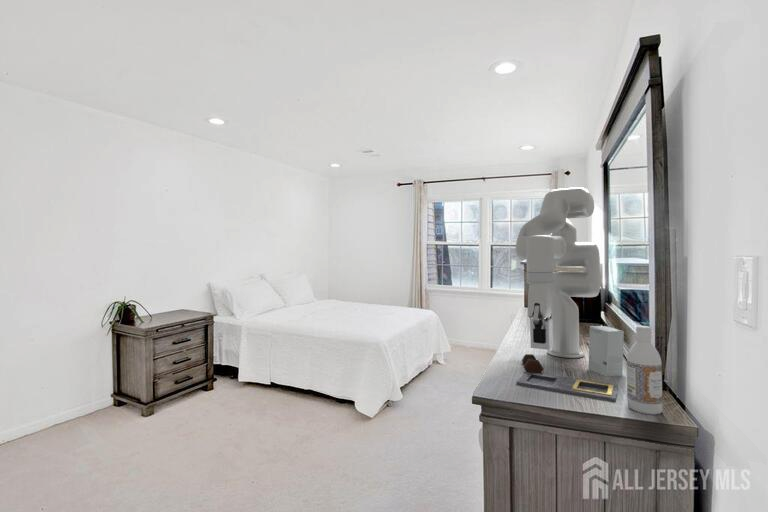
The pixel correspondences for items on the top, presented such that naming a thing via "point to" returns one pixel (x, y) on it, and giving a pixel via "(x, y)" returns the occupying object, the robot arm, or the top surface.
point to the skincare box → (606, 350)
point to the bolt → (532, 364)
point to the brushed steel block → (549, 335)
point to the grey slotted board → (569, 386)
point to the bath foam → (644, 374)
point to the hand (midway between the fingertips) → (541, 340)
